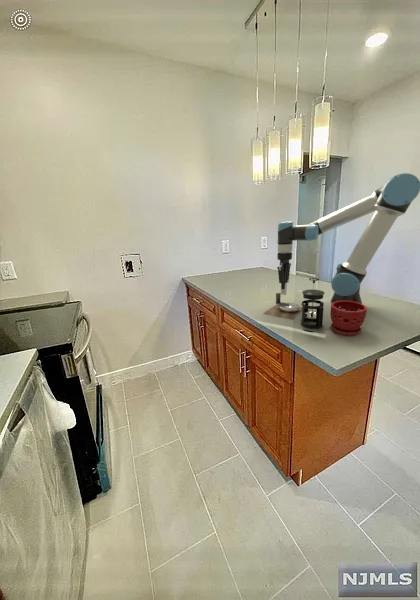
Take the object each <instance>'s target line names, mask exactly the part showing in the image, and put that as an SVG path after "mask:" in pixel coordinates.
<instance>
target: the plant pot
mask: <svg viewBox="0 0 420 600" xmlns="http://www.w3.org/2000/svg"><path fill="white" fill-rule="evenodd" d="M340 306H341V307H340ZM348 306H350V307H351V308H350V309H348V308H347V307H348ZM354 308H356V309H355V310H354ZM358 308H359V309H360V310H359V309H358ZM344 309H345V310H344ZM367 309H368V307H367V306H366V305H364V303H362V304H361V303H358V302H353V301H336V302H333V303H330V320H331V323H330V328H331V330H332V331H333V332H335V333H337V334H340V335H343V336H355V335H358V334H360V332H361V330H362V328H361V327H362V325H363V324H364V322H365V319H366V317H367Z"/></svg>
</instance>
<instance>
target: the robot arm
mask: <svg viewBox="0 0 420 600" xmlns="http://www.w3.org/2000/svg"><path fill="white" fill-rule="evenodd" d="M419 193H420V179H419V178H418V177H417V176H416V175H414V174H411V173H406V172H405V173H399V174H396V175H394V176H393V177H391V178H389V179H388V181H386V182H385V184H384V185H383V186H382V187H380V188H378V189H376V190H374V191H373V192H372V193H371V195H368V196H366V197H364V198H362V199H360V200H357V201H356V202H353V203H351V204H349V205H347V206H345V207H343V208H340V209H338V210H336V211H334V212H331V213H330V214H328V215H326V216H323V217H321V218H319V219H317V220H315V221H312V222H310V223H308V224H301V225H295V224H294V222H293V221H281V222H279V223H278V224H277V225H278V227H277V246H276V247H277V258H276V259H277V260H278V261H279V266H277V268H276V269H277V272H278V283H279V284H280V293H281V295H283V296H286V295H287V289H288V288H287V286H288V284H287V283H289V281H290V272H291V265H292V264H291V262H290V261H291V260H292V259H293V241H308V242H310V241H316V240H317V239H318V237H319V235H322V234H324V233H327V232H328V231H331V230H334V229H336V228H338V227H341V226H343V225H346V224H347V223H350V222H353V221H355V220H357V219H360V218H362V217H365V216H366V215H369V214H371V213H373V214H372V216H371V218H370V220H369V222H368V223H367V225H366V227H365V229H364V230H363V232H362V234H361V235H360V237H359V239H358V241H357V243H356V245H354V248H353V249H352V251H351V253H350V255H349V257H348V259H347V260H346V261H344V262H341V263H338V264H337V266H336V272H335V274H334V276H333V277H332V279H331V283H330V284H331V289H332V291H333V295H332V296H331V299H330V302H329V303H330V304H332V303H333V302H336V301H353V302H358V303H361V304H363V301H362V297H361V295H360V291H361V284H362V282H363V281H364V279H365V277H366V276H367V273H368V272H367V268H368V265H369V264H370V262H371V261H372V259H373V258H374V256H375V254H376V252H377V251H378V249H379V248H380V246H381V245H382V243H383V241H384V239H385V238H386V237H387V235H388V233H389V231H390V230H391V228H392V227H393V226H394V223H395V222H396V220H397V219H398V217H400V216H404V215H405V213H406V212H407V210H408V209H409V207H410V205H411V204H412V202H413V201H414V200H415V199H416V198H417V197H418V195H419ZM339 308H341V306H339ZM347 308H348V309H350V308H351V307H350V306H348V307H347ZM355 309H356V308H354V310H355ZM343 310H345V309H343ZM358 310H359V308H358Z"/></svg>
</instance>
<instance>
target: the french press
mask: <svg viewBox="0 0 420 600" xmlns="http://www.w3.org/2000/svg"><path fill="white" fill-rule="evenodd" d="M308 280H309V281H312V289H305V290H302V292H301V293H302V297H303V299H305V300H301V301H302V302H301V307H302V312H301V320H300V325H301V327H303V328H305V329H303V328H301V329H302V331H304V332H308V333H315V331H314V330H318V329H321V328H323V323H324V322H323V320H324V311H325V310H324V309H325V308H324V305H325V304H324V302H323V301H322V300H323V298H324V295H325V294H326V293H325V292H324V291H323V290H319V289H315V283H316V282H317V281H319V280H320V279H319V278H317V277H311V278H308ZM310 303H311V305H309V304H310ZM314 303H315V304H319V305H315V306H314ZM309 310H311V311H309ZM314 310H316V311H314ZM305 322H314V323H315V324H308V323H305ZM308 329H309V330H308ZM312 330H313V331H312Z"/></svg>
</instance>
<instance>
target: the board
mask: <svg viewBox="0 0 420 600" xmlns="http://www.w3.org/2000/svg"><path fill="white" fill-rule="evenodd" d="M301 314H302V306H300V310H299V311H298V312H295V313H287V312H283V311H281V310H280V305H278V304H276V303H275V305H273V306H272V307H270V308H269V309H267V310H266V311H264V312H263V315H267V316H272V317H276V318H280V319H281V318H282V319H288V320H292V321H294V319H295V318H297V317H298V316H299V315H301Z"/></svg>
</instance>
